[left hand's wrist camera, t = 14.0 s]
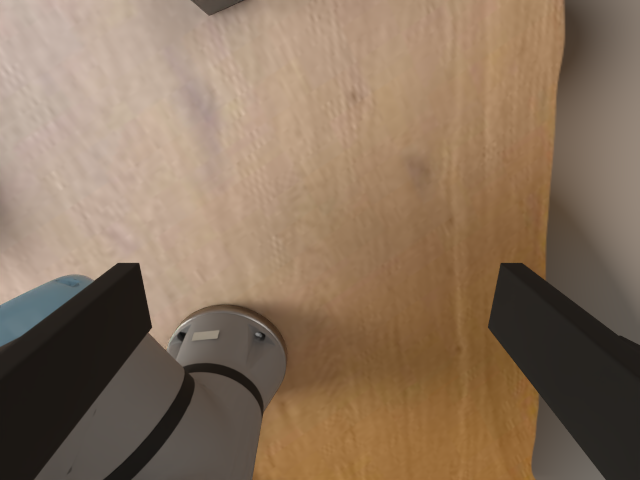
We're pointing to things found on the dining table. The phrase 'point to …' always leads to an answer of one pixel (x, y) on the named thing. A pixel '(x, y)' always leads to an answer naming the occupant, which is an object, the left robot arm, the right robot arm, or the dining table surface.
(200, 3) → the grey cube
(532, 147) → the dining table surface
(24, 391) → the left robot arm
